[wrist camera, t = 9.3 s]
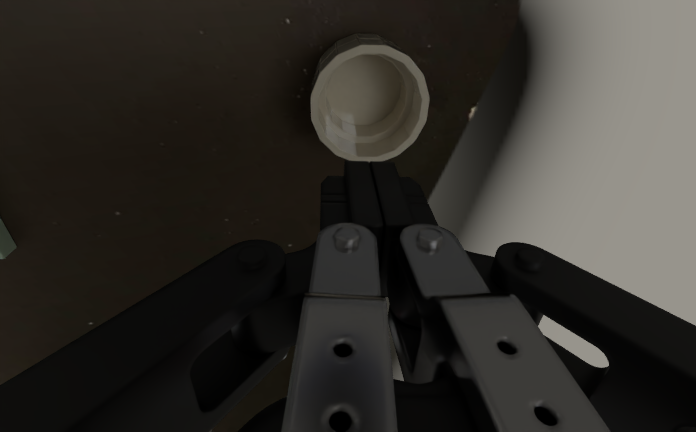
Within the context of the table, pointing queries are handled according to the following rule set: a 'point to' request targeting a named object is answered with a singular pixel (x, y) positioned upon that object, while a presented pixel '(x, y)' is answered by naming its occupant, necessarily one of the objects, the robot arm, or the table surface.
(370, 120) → the bowl
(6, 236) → the scale
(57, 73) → the table surface
